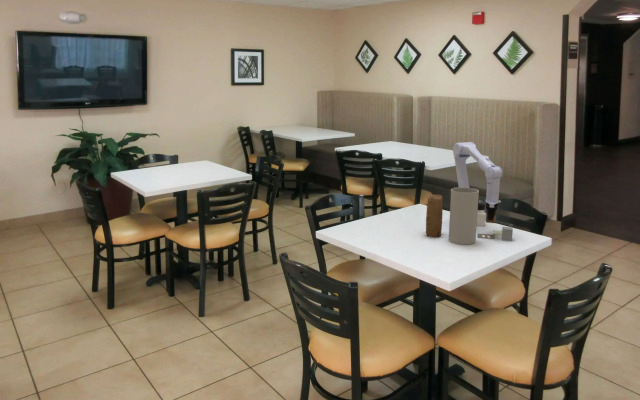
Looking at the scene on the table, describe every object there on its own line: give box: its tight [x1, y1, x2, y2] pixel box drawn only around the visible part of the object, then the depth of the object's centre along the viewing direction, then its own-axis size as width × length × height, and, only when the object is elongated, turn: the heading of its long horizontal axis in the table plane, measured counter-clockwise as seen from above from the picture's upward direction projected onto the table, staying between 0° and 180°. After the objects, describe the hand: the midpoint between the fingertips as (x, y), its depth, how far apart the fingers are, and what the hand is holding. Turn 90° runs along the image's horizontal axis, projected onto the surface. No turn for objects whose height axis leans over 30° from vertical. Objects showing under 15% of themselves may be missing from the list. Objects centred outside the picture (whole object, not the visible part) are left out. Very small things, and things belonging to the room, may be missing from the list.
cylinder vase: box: [448, 187, 480, 246], centre depth 253 cm, size 12×12×25 cm
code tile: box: [477, 233, 496, 240], centre depth 263 cm, size 8×8×1 cm
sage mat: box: [492, 229, 502, 236], centre depth 268 cm, size 8×8×1 cm
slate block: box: [501, 226, 514, 242], centre depth 257 cm, size 4×4×6 cm
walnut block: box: [485, 211, 497, 224], centre depth 262 cm, size 4×4×6 cm
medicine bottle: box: [477, 201, 487, 227], centre depth 283 cm, size 7×7×12 cm
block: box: [425, 194, 444, 238], centre depth 265 cm, size 11×8×20 cm
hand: (490, 218), depth 262 cm, fingers closed on walnut block, 4 cm apart
